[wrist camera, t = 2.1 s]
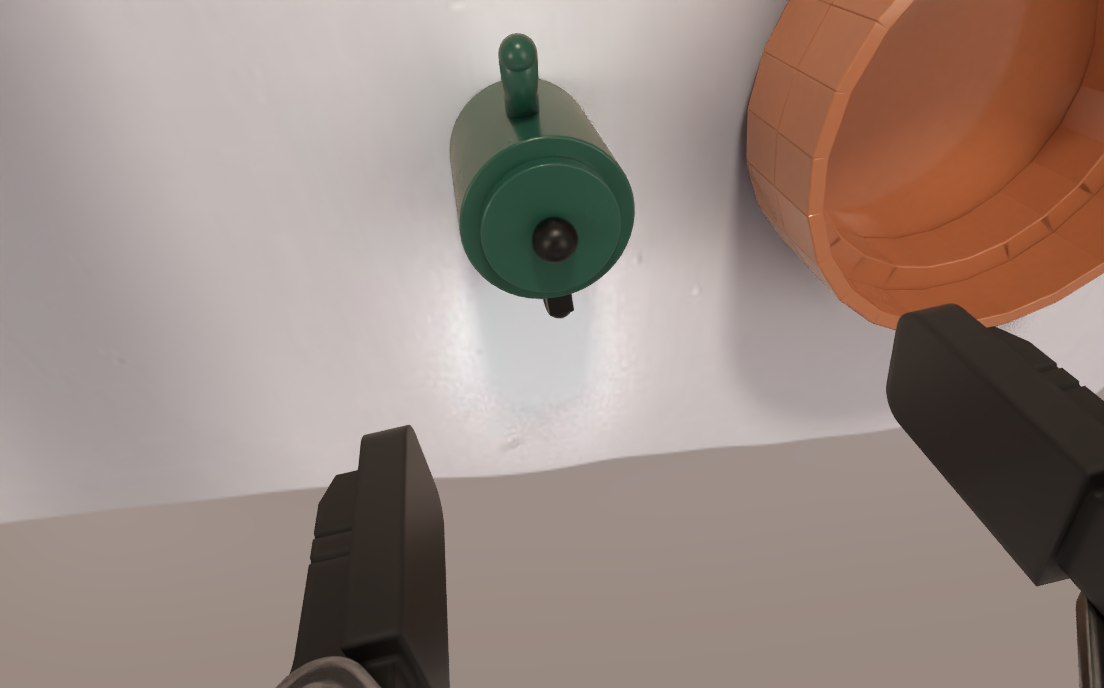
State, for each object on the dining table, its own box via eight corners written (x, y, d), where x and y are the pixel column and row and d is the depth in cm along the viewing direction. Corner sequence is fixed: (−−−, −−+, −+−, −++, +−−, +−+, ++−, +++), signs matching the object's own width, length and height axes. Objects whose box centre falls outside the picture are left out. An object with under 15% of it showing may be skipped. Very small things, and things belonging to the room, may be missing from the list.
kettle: (603, 237, 30) (659, 349, 23) (476, 264, 29) (495, 386, 23) (574, -17, 24) (637, 34, 17) (413, 14, 23) (415, 79, 17)
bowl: (737, 295, 33) (793, 372, 28) (744, -106, 23) (833, -94, 18) (1056, 224, 33) (1165, 287, 29) (1195, -193, 24) (1396, -204, 19)
